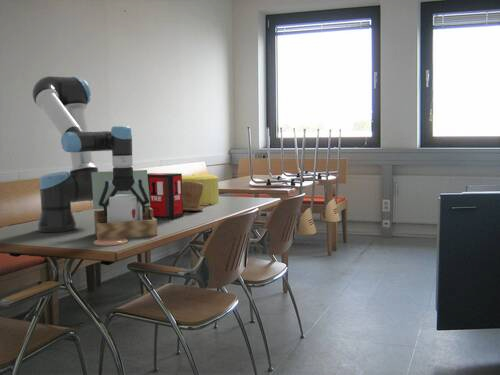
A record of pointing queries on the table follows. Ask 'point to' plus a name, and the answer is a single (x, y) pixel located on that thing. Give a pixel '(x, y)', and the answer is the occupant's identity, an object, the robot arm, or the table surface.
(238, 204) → the table surface
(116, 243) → the tan round disc
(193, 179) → the cheese
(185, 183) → the brown tapered block
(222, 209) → the table surface
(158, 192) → the cleaning product box
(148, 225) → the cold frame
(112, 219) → the supplement box
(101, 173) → the sage green board
